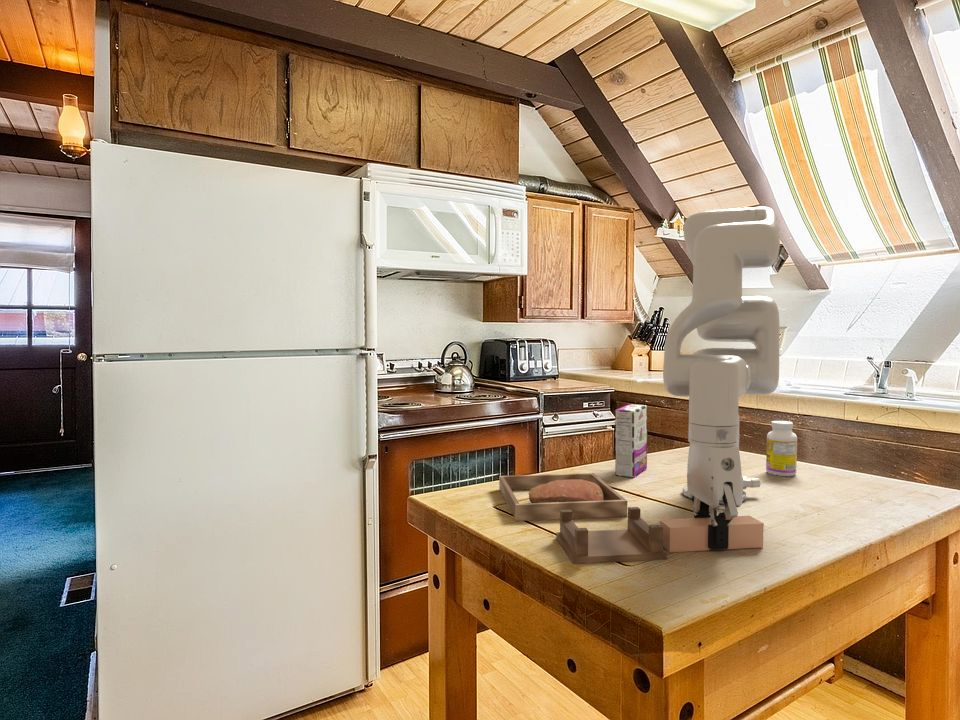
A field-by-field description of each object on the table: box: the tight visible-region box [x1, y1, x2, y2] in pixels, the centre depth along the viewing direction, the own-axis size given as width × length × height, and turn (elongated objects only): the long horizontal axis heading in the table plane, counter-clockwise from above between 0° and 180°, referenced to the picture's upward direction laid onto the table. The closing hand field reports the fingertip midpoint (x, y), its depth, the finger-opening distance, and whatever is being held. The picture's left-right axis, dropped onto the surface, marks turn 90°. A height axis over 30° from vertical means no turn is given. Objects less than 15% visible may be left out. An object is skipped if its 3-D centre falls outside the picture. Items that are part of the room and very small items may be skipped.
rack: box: [555, 506, 668, 565], centre depth 96 cm, size 15×11×5 cm
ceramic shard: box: [528, 479, 605, 503], centre depth 121 cm, size 15×6×15 cm
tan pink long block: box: [659, 515, 764, 553], centre depth 97 cm, size 16×4×4 cm, turn 96°
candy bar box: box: [614, 403, 648, 479], centre depth 146 cm, size 11×5×16 cm, turn 148°
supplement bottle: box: [765, 420, 798, 477], centre depth 144 cm, size 7×7×13 cm
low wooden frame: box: [498, 472, 628, 522], centre depth 122 cm, size 22×22×3 cm
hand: (710, 542), depth 97 cm, fingers closed on tan pink long block, 4 cm apart
